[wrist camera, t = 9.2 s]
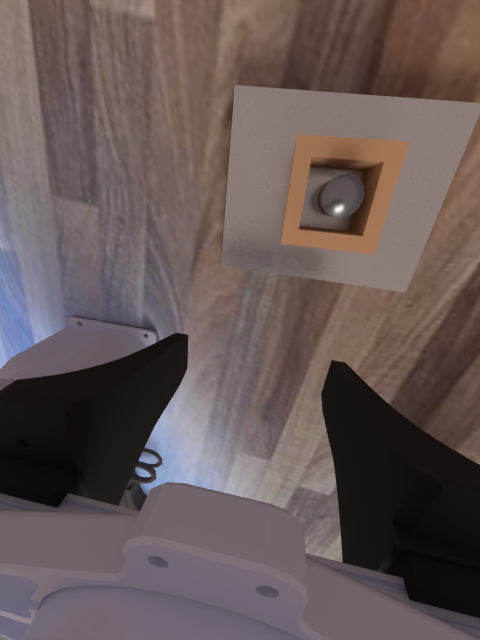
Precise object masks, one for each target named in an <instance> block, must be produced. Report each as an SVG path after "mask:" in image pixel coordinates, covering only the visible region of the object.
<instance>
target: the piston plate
mask: <svg viewBox="0 0 480 640" xmlns="http://www.w3.org/2000/svg"><path fill="white" fill-rule="evenodd" d="M479 114H480V103H472V102H458V101H445V100H431V99H417V98H404V97H390V96H377V95H363V94H349V93H336V92H322V91H308V90H295V89H281V88H267V87H254V86H240V85H235V89H234V102H233V116H232V129H231V142H230V155H229V168H228V182H227V195H226V208H225V221H224V234H223V248H222V261H221V265H222V266H229V267H236V268H243V269H249V270H256V271H263V272H270V273H277V274H284V275H291V276H297V277H304V278H311V279H318V280H325V281H332V282H338V283H345V284H352V285H359V286H366V287H373V288H379V289H386V290H393V291H400V292H406V291H407V288H408V286H409V284H410V281H411V279H412V276H413V274H414V271H415V269H416V267H417V264H418V262H419V259H420V257H421V255H422V252H423V250H424V247H425V245H426V242H427V240H428V238H429V235H430V233H431V230H432V228H433V226H434V223H435V221H436V218H437V216H438V213H439V211H440V209H441V206H442V204H443V201H444V199H445V197H446V194H447V192H448V189H449V187H450V184H451V182H452V180H453V177H454V175H455V172H456V170H457V168H458V165H459V163H460V160H461V158H462V155H463V153H464V151H465V148H466V146H467V143H468V141H469V139H470V136H471V134H472V131H473V129H474V126H475V124H476V122H477V119H478V117H479ZM297 134H298V135H314V136H330V137H345V138H361V139H377V140H392V141H408V142H409V145H408V148H407V151H406V155H405V158H404V161H403V164H402V168H401V171H400V174H399V177H398V180H397V184H396V187H395V190H394V193H393V197H392V200H391V203H390V206H389V209H388V213H387V216H386V219H385V222H384V225H383V229H382V232H381V235H380V238H379V242H378V245H377V248H376V251H375V254H367V253H358V252H349V251H340V250H331V249H322V248H313V247H304V246H295V245H286V244H281V237H282V230H283V223H284V217H285V210H286V203H287V197H288V190H289V183H290V177H291V170H292V163H293V157H294V150H295V144H296V139H297ZM362 175H363V171H356V170H343V169H330V168H317V167H310V169H309V175H308V180H307V186H306V192H305V197H304V203H303V209H302V214H301V220H300V226H306V227H316V228H326V229H335V230H345V231H348V230H349V226H350V222H351V218H352V214H353V213H354V212H355V211H356V210H357V209H358V208H359V207H360V205H361V204H362V201H363V198H364V186H363V184H362V182H361V179H362Z"/></svg>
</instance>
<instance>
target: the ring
mask: <svg viewBox="0 0 480 640" xmlns="http://www.w3.org/2000/svg"><path fill="white" fill-rule="evenodd" d="M408 145H409V142H408V141H392V140H377V139H361V138H345V137H330V136H314V135H298V134H297V139H296V144H295V150H294V157H293V163H292V170H291V177H290V183H289V190H288V197H287V203H286V210H285V217H284V223H283V230H282V237H281V244H286V245H295V246H304V247H313V248H322V249H331V250H340V251H349V252H358V253H367V254H375V251H376V248H377V245H378V242H379V238H380V235H381V232H382V229H383V225H384V222H385V219H386V216H387V213H388V209H389V206H390V203H391V200H392V197H393V193H394V190H395V187H396V184H397V180H398V177H399V174H400V171H401V168H402V164H403V161H404V158H405V155H406V151H407V148H408ZM310 167H317V168H330V169H343V170H356V171H363V175H362V179H361V182H362V184H363V186H364V198H363V201H362V204H361V205H360V207H359V208H358V209H357V210H356V211H355V212H354V213H353V214H352V218H351V222H350V226H349V230H348V231H345V230H335V229H326V228H316V227H306V226H300V220H301V214H302V209H303V203H304V197H305V192H306V186H307V180H308V175H309V169H310Z"/></svg>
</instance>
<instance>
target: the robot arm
mask: <svg viewBox="0 0 480 640" xmlns="http://www.w3.org/2000/svg"><path fill="white" fill-rule="evenodd" d="M66 322H67V327H66V328H64V329H62V330H60V331H59V332H57V333H55V334H53V335H51V336H50V337H48V338H46V339H44V340H42V341H41V342H39V343H37V344H35V345H33V346H32V347H30V348H28V349H26V350H24V351H23V352H21V353H19V354H17V355H16V356H14V357H13V358H11V359H10V360H9V361H8V362H7V363H6V364H5V365H4V366H3V367H2V368H1V370H0V636H2V637H4V638H7V639H9V640H480V465H479V464H477V463H475V462H473V461H472V460H470V459H468V458H466V457H465V456H463V455H461V454H459V453H458V452H456V451H454V450H453V449H451V448H449V447H448V446H446V445H444V444H443V443H441V442H440V441H438V440H436V439H435V438H433V437H432V436H430V435H429V434H427V433H426V432H424V431H423V430H421V429H420V428H419V427H417V426H416V425H414V424H413V423H412V422H410V421H409V420H408V419H406V418H405V417H404V416H403V415H401V414H400V413H399V412H397V411H396V410H395V409H394V408H393V407H391V406H390V405H389V404H388V403H387V402H386V401H384V400H383V399H382V398H381V397H380V396H379V395H378V394H377V393H376V392H375V391H374V390H372V389H371V388H370V387H369V386H368V385H367V384H366V383H365V382H364V381H363V380H362V379H361V378H360V377H359V376H358V375H357V374H356V373H355V372H354V371H353V370H352V369H351V368H350V367H349V366H348V365H347V364H346V363H345V362H339V361H333V360H332V361H331V365H330V368H329V371H328V374H327V377H326V380H325V383H324V387H323V390H322V393H321V396H322V409H323V415H324V420H325V425H326V429H327V434H328V438H329V443H330V447H331V451H332V456H333V461H334V467H335V476H336V484H337V493H338V504H339V514H340V527H341V541H342V558H343V563H342V562H338V561H334V560H330V559H326V558H322V557H318V556H314V555H310V554H306V553H305V540H304V528H303V526H302V524H301V523H300V522H299V521H298V520H297V519H296V518H295V517H294V516H293V515H292V514H291V513H290V512H289V511H287V510H284V509H282V508H279V507H277V506H274V505H272V504H269V503H265V502H260V501H256V500H252V499H248V498H244V497H239V496H235V495H231V494H227V493H222V492H218V491H214V490H210V489H206V488H201V487H197V486H193V485H189V484H185V483H170V482H167V483H164V484H162V485H160V486H157V487H155V488H152V489H150V492H149V494H148V496H147V498H146V500H145V502H144V504H143V506H142V509H141V511H136V510H132V509H128V508H124V507H121V506H119V504H120V502H121V499H122V497H123V495H124V492H125V490H126V487H127V485H128V483H129V480H130V478H131V476H132V474H133V471H134V469H135V467H136V464H137V462H138V460H139V458H140V456H141V453H142V451H143V449H144V447H145V445H146V443H147V441H148V439H149V437H150V435H151V432H152V430H153V428H154V426H155V425H156V423H157V421H158V419H159V418H160V416H161V414H162V413H163V411H164V410H165V408H166V406H167V405H168V403H169V402H170V400H171V398H172V397H173V395H174V394H175V392H176V390H177V389H178V387H179V385H180V384H181V381H182V379H183V377H184V375H185V372H186V370H187V363H188V335H186V334H180V333H175V334H173V335H171V336H168V337H166V338H164V339H162V340H160V341H158V342H157V334H156V332H154V331H152V330H146V329H140V328H135V327H129V326H124V325H118V324H112V323H107V322H101V321H95V320H90V319H84V318H78V317H73V316H70V317H68V318H67V319H66ZM80 322H81V323H82V324H81V323H80ZM145 333H146V334H147V335H148V336H146V334H145Z"/></svg>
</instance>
